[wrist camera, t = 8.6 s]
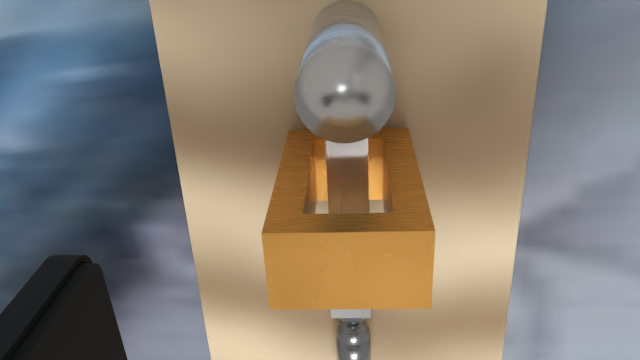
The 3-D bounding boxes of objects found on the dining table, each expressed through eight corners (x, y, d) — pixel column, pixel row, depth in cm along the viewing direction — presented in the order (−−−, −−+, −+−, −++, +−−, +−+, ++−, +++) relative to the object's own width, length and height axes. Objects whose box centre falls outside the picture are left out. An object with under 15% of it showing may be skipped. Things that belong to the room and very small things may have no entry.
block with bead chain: (288, 130, 17) (261, 233, 12) (408, 127, 17) (435, 231, 12) (310, 420, 23) (298, 579, 17) (401, 421, 22) (417, 582, 17)
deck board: (145, -91, 16) (133, -91, 15) (549, -112, 15) (562, -113, 14) (243, 506, 27) (240, 526, 26) (475, 510, 26) (479, 531, 26)
